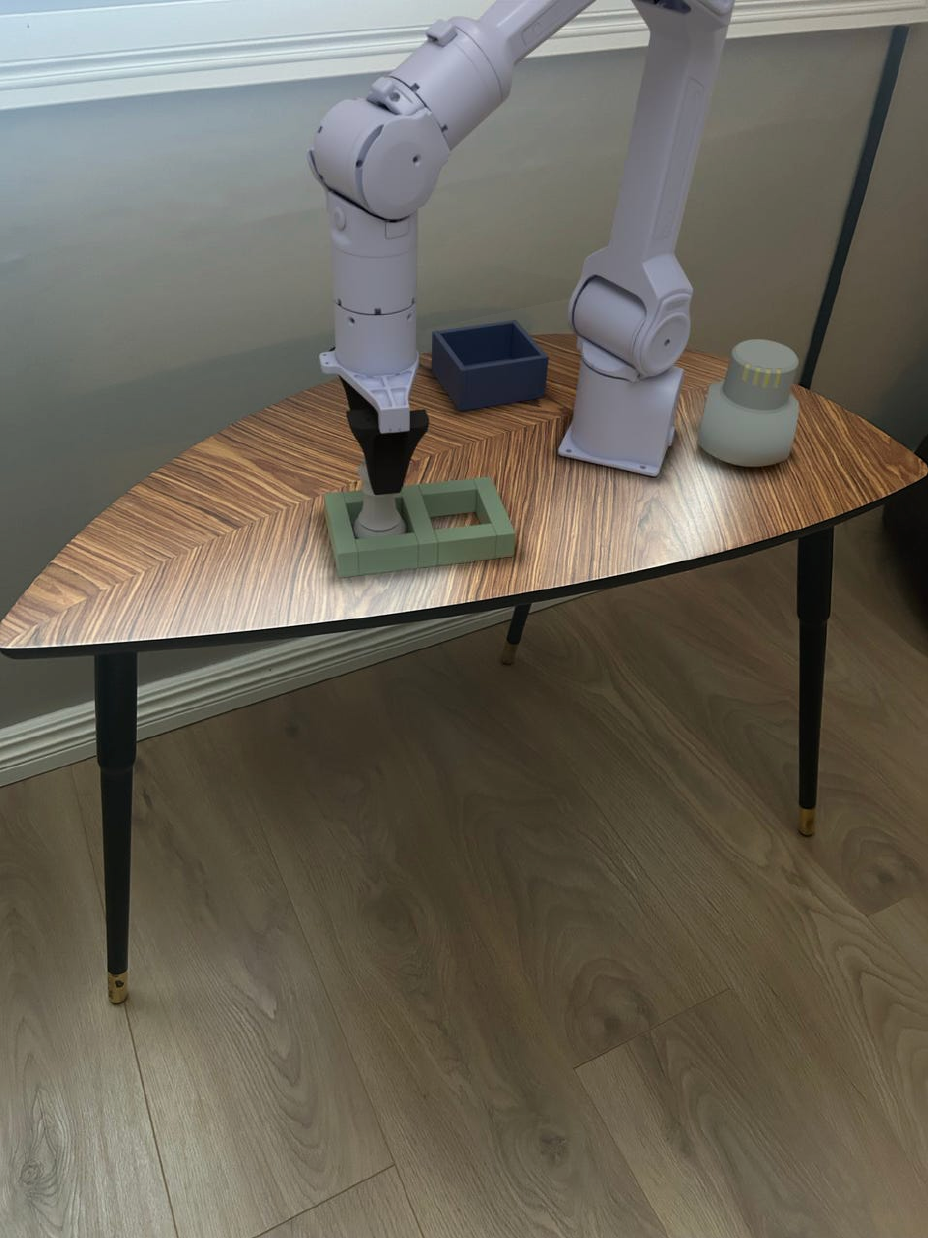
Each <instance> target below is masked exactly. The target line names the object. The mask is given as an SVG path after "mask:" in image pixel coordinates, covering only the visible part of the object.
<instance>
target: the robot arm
mask: <svg viewBox="0 0 928 1238" xmlns="http://www.w3.org/2000/svg"><path fill="white" fill-rule="evenodd" d="M596 1H597V0H495V1H494V2H493V3H492V5H490V6H489V7H488V9H486V11H485V12H484V13H483V14H482V15H481V16H480V17H479V18H478V19H473V18H470V17H467V16H463V15H462V16H461V15H455V16H451V18H449V19H448V20H447V21H446V20H443V19H440V18H439V19H437V20H435V22H434V23H432V24H431V25H430V26H429V27H428V28H427V29H426V30H425V36H426V38H427V39H426V40H425V41H424V42H423V43H422V44H421V45H419V46H418V47H417V48H416V49H415V50H414V51H413V52H412V53H410V55H408V56H407V58H405V59H404V60H403V61H402V62H401V63H399V65H398V66H397V67H395V68H394V69H393V70H392V71H391V72H390V73H388V74H387V76H385V77H384V76H380V77H379V78H377V80H376V81H374V83H372V85H371V86H370V91H369V92H368V93H367V95H366V96H365V98H364V97H363V98H362V97H353V99H351V98H347V99H343V100H342V101H340V102H338V103H336V104H335V105H334V106H333V107H331V108H330V109H329V110H328V111H327V113H326V114H324V116H323V117H322V119H321V120H320V122H319V124H318V126H317V129H316V132H315V135H314V141H313V146H312V147H310V148H307V150H306V158H307V163H308V166H309V169H310V171H311V173H312V175H313V177H314V178H315V180H316V181H317V182H318V183H319V184H320V186H321V187H322V188H323V191H324V194H325V200H326V201H325V202H326V203H325V204H326V205H325V206H326V212H328V215H329V216H328V217H329V218H328V219H329V238H330V239H329V240H330V259H331V279H332V280H331V281H332V298H333V319H334V341H335V346H334V347H332V348H330V349H329V350H328V351H324V352H321V353H320V354H319V356H318V361H319V362H318V363H319V366H320V369H321V372H322V373H323V374H325V375H338V378H339V380H340V382H341V384H342V386H343V390H344V392H345V395H346V401H347V405H348V409H349V410H346V411H345V417H346V420H347V423H348V426H349V430H350V432H351V433H352V435H353V437H354V439H355V440H356V442H357V443H358V444H359V447H360V448H361V451H362V453H363V458H365V462H366V467H367V472H368V477H369V481H370V484H371V487H372V490H373V493H374V495H386V494H395V493H400V492H401V490H402V488H403V486H405V481H406V478H407V475H408V470H409V468H410V467H409V466H410V463H411V460H412V457H413V454H414V452H415V450H416V448H417V447H418V445H419V443H420V442H421V440H422V439H423V437H424V436H425V435H426V434H427V433H428V430H429V426H430V418H429V415H428V413H427V410H426V409H425V408H422V409H412V410H411V409H410V408H411V406H410V402H409V401H410V397H411V393H412V391H413V388H414V383H415V380H416V377H417V374H418V371H419V366H420V354H419V352H418V350H417V319H418V315H417V312H418V231H419V230H418V229H419V228H418V227H419V209H421V208H423V207H424V206H426V204H427V203H428V201H429V200H430V199H431V197H432V195H433V193H434V191H435V189H436V186H437V182H438V180H439V176H440V172H441V170H442V169H443V167H444V166H445V165H446V164H447V163H448V162H449V160H448V158H449V157H450V155H451V152H452V151H453V150H454V149H455V148H456V147H457V146H458V145H459V144H460V143H461V142H462V141H464V139H466V138H467V137H469V135H470V134H471V133H472V132H473V131H474V130H475V129H476V128H477V127H478V126H479V125H481V124H482V123H483V122H484V121H485V120H486V119H487V118H488V117H489V116H491V114H493V112H495V111H496V110H497V109H498V108H499V107H500V106H501V105H502V104H503V103H504V102H505V101H506V100H508V98H509V96H510V94H511V89H512V85H513V84H512V82H513V72H514V68H515V66H516V65H517V64H519V63H520V62H521V61H523V60H524V59H526V57H527V56H529V55H530V54H532V53H533V52H534V51H535V50H536V49H537V48H539V47H540V46H541V45H542V44H544V43H545V42H547V40H549V39H550V38H551V37H552V36H554V35H555V34H557V32H559V31H560V30H561V29H563V28H564V27H565V26H567V25H568V24H569V23H570V22H572V20H574V19H575V18H577V16H578V15H580V14H581V13H583V12H584V11H585V10H586V9H588V8H589V7H590V6H592V4H593V3H595V2H596ZM630 2H632V4H633V6H634V7H635V9H636V11H637V12H638V14H639V15H640V17H641V18H642V21H643V22H644V23H645V25H646V27H647V28H648V30H649V39H648V40H649V41H648V44H647V49H646V53H645V54H646V55H645V60H644V65H643V70H642V74H641V80H640V84H639V85H640V86H639V90H638V94H637V99H636V105H635V110H634V115H633V120H632V125H631V130H630V136H629V140H628V145H627V151H626V156H625V160H624V166H623V170H622V175H621V182H620V185H619V186H620V187H619V191H618V196H617V201H616V206H615V212H614V217H613V221H612V228H611V231H610V236H609V240H608V241H609V242H608V245H606V246H605V247H602V248H600V249H598V250H596V251H594V252H593V253H591V254H589V255H588V256H586V258H585V259H584V260H583V266H582V271H581V275H580V278H579V280H578V282H577V284H576V287H575V288H574V290H573V292H572V294H571V296H570V299H569V301H568V304H567V305H568V306H567V314H566V319H567V325H568V327H569V329H570V331H571V332H572V333H573V334H574V335H576V336H577V340H576V349H578V350H579V351H580V353H581V355H580V362H579V370H578V377H577V385H576V392H575V399H574V407H573V415H572V421H571V423H570V424H569V427H568V428H567V431H566V432H565V435H564V436H563V439H562V440H561V442H560V445H559V447H558V448H557V454H558V455H559V456H561V457H566V458H570V459H575V460H579V461H584V462H587V463H592V464H597V465H601V466H605V467H609V468H613V469H614V468H615V469H618V470H622V471H628V472H631V473H635V474H636V473H637V474H641V475H645V476H650V477H657V476H658V475H659V474H660V471H661V469H662V465H663V462H664V460H665V456H666V453H667V451H668V447H670V446H672V444H673V440H674V436H675V434H676V433H675V432H676V426H675V421H676V416H677V412H678V408H679V402H680V397H681V395H682V394H681V393H682V388H683V384H684V379H685V371H686V370H685V369H684V368H682V367H679V366H677V365H674V364H675V363H676V362H677V361H678V360H679V359H680V357H682V354H683V353H684V351H685V349H686V347H687V344H688V342H689V338H690V334H691V325H692V323H691V321H692V320H691V313H690V312H691V309H690V308H691V302H692V298H693V294H694V288H693V286H692V284H691V282H690V280H689V279H688V277H687V275H686V273H685V271H684V269H683V267H682V266H681V264H680V263H679V261H678V259H677V256H676V255H675V251H676V246H677V243H678V238H679V234H680V230H681V226H682V222H683V217H684V213H685V209H686V205H687V200H688V197H689V192H690V189H691V184H692V180H693V175H694V172H695V167H696V163H697V159H698V155H699V150H700V146H701V143H702V139H703V135H704V130H705V125H706V122H707V118H708V114H709V110H710V105H711V101H712V97H713V93H714V88H715V84H716V81H717V76H718V73H719V68H720V64H721V60H722V55H723V52H724V48H725V47H724V46H725V43H726V39H727V35H728V30H729V26H730V23H731V19H732V16H733V12H734V7H735V3H736V0H630Z"/></svg>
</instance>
